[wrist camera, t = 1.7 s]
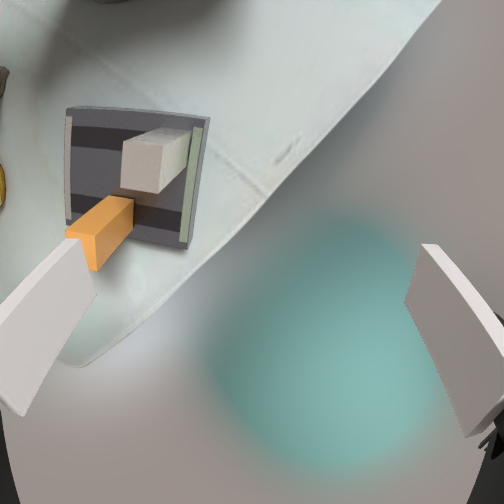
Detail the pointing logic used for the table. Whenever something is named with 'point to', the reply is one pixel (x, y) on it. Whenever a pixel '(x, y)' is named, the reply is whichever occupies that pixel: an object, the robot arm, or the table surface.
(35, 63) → the table surface
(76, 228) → the handle
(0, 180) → the decorated donut
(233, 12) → the table surface
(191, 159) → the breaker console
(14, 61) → the table surface
